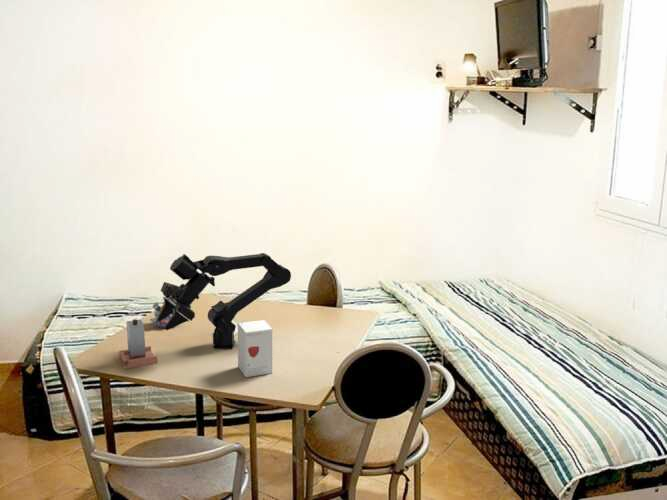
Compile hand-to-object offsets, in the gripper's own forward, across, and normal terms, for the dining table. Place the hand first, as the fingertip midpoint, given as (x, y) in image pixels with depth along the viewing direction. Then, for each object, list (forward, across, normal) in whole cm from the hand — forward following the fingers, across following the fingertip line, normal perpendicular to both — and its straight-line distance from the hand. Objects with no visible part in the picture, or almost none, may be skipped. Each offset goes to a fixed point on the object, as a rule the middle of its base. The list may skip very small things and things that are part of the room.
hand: (161, 324), depth 204 cm
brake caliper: (+2, -29, +14) cm, 32 cm away
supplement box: (-8, +24, +24) cm, 35 cm away
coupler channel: (+14, 0, +2) cm, 14 cm away
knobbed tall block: (+13, 0, +1) cm, 13 cm away
